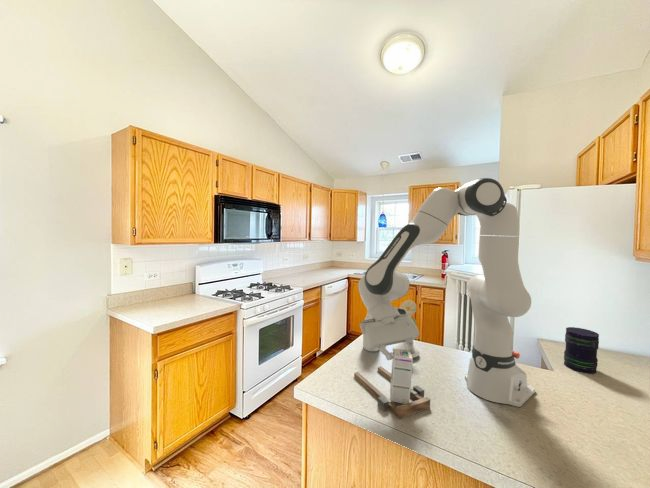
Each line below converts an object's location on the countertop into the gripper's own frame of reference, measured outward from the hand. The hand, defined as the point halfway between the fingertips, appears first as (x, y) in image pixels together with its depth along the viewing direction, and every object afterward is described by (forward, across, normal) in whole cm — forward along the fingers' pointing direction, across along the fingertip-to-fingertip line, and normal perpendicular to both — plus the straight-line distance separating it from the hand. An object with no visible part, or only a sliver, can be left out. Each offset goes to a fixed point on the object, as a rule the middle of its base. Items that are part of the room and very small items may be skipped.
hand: (402, 356), depth 85 cm
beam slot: (+5, 0, +15) cm, 16 cm away
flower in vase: (-6, +24, +27) cm, 37 cm away
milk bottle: (-15, +14, +36) cm, 41 cm away
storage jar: (+20, +81, +1) cm, 83 cm away
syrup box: (+9, -1, +9) cm, 13 cm away
